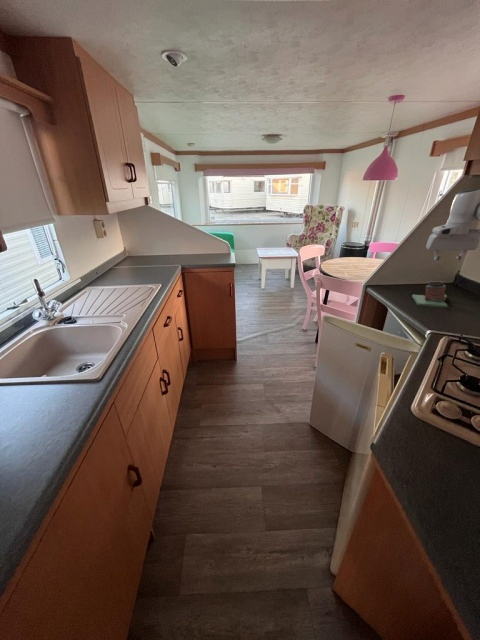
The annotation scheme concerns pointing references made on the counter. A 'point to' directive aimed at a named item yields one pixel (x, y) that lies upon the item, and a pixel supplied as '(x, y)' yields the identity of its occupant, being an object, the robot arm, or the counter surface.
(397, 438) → the counter surface
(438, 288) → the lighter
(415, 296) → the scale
